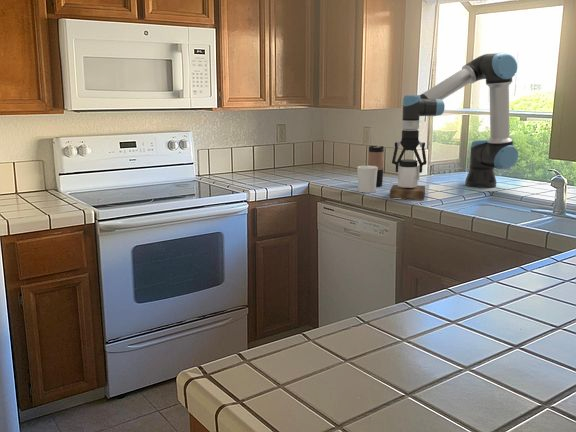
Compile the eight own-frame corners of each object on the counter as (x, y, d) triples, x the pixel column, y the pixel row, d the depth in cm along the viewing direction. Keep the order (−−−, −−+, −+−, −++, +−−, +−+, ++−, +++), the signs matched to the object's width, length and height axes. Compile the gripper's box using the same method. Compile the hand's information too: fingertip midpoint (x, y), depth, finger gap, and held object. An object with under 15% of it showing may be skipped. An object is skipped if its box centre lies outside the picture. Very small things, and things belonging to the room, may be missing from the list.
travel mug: (371, 187, 299) (372, 147, 294) (365, 184, 306) (366, 146, 302) (385, 186, 301) (386, 147, 296) (379, 184, 308) (380, 145, 304)
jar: (409, 188, 268) (410, 162, 266) (394, 186, 274) (395, 160, 271) (420, 186, 274) (421, 160, 272) (405, 184, 280) (406, 158, 277)
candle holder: (375, 189, 293) (375, 165, 290) (378, 193, 283) (379, 168, 281) (355, 189, 293) (355, 165, 290) (358, 193, 283) (358, 168, 280)
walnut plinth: (424, 194, 281) (425, 185, 280) (423, 200, 266) (423, 191, 266) (392, 192, 284) (393, 184, 283) (389, 198, 270) (390, 190, 269)
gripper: (386, 130, 268) (384, 179, 273) (434, 130, 262) (431, 181, 267) (387, 128, 275) (386, 177, 280) (434, 129, 269) (432, 178, 274)
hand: (408, 179), depth 274 cm, fingers closed on jar, 8 cm apart
